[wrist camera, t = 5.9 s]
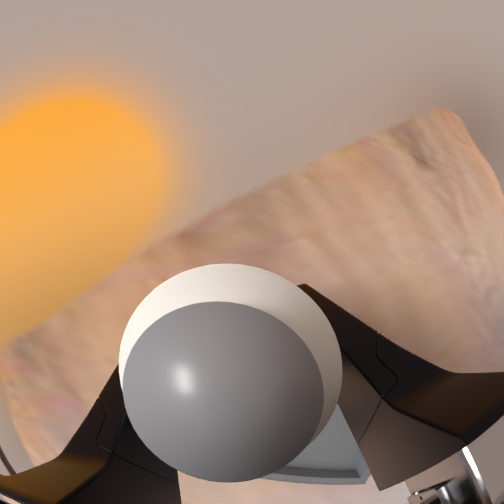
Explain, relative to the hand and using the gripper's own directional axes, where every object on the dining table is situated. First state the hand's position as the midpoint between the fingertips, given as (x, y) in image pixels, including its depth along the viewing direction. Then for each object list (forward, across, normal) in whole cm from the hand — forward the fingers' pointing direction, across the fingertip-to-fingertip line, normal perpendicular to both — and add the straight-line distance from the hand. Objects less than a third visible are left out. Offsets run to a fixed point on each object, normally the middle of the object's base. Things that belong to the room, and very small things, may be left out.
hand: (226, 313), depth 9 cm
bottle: (+4, 0, +6) cm, 7 cm away
